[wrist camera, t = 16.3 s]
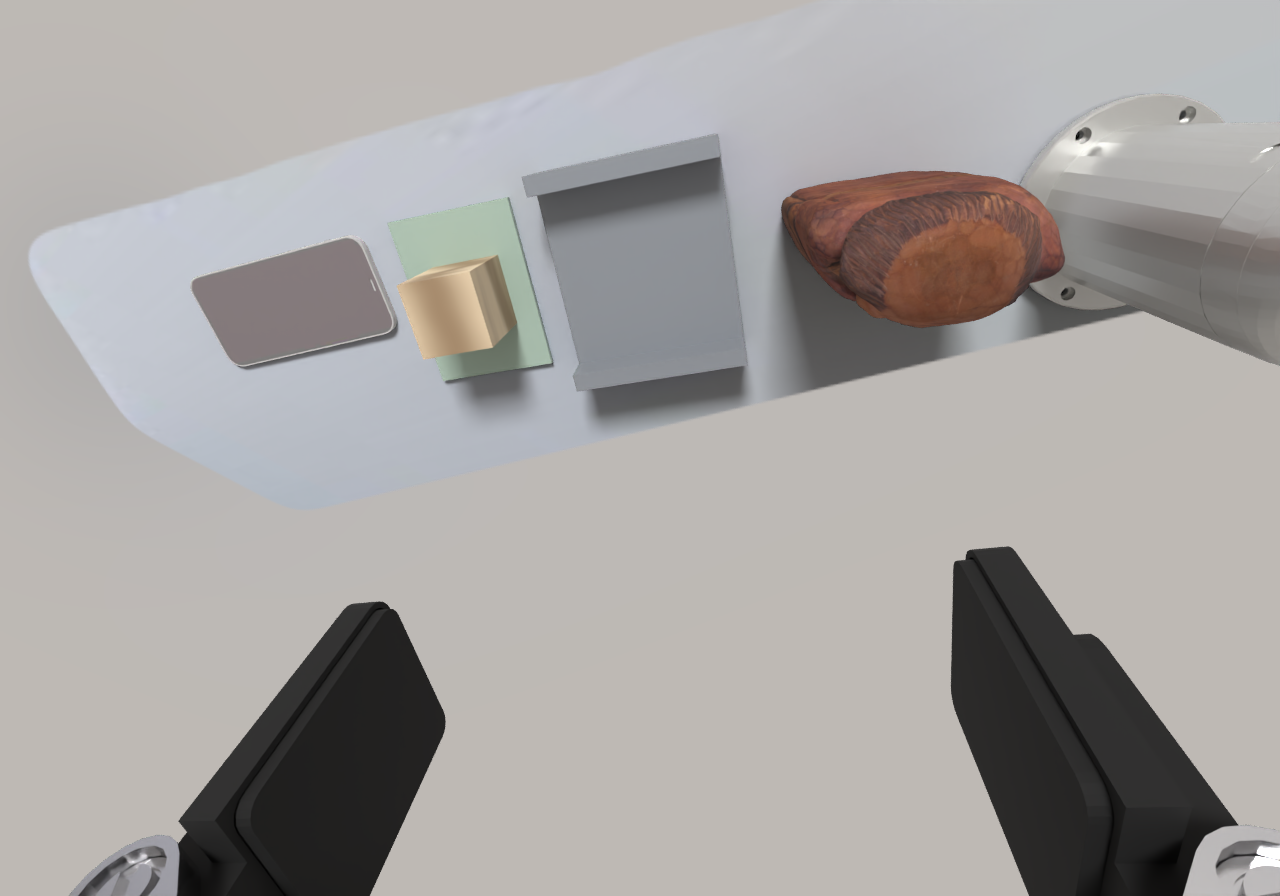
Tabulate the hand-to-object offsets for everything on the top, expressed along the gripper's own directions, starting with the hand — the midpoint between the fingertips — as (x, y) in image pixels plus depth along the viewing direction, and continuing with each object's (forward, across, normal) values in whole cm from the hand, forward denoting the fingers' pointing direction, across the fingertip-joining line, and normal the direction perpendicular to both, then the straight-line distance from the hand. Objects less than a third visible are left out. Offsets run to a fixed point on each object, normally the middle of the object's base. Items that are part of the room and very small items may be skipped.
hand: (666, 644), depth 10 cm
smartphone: (+37, +32, -2) cm, 49 cm away
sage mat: (+37, +17, 0) cm, 41 cm away
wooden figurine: (+38, -11, 0) cm, 39 cm away
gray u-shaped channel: (+37, +4, 0) cm, 38 cm away
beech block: (+37, +17, 0) cm, 40 cm away
